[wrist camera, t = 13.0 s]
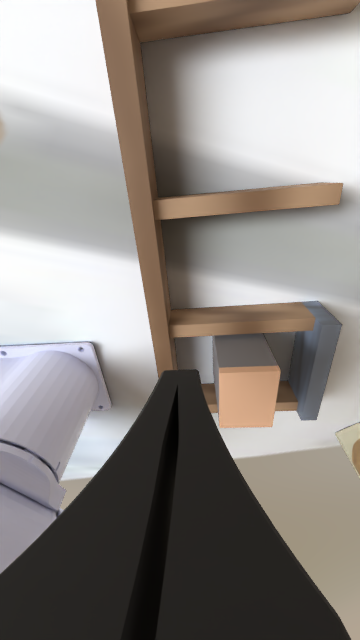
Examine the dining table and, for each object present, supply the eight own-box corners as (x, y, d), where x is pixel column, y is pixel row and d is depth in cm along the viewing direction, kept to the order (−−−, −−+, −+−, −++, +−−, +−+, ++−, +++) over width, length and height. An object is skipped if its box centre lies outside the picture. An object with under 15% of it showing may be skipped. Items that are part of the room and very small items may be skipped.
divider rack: (168, 392, 24) (164, 423, 21) (112, 16, 12) (85, -39, 9) (299, 388, 23) (316, 420, 20) (383, -24, 11) (456, -101, 8)
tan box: (213, 370, 23) (219, 427, 17) (212, 323, 20) (219, 373, 15) (253, 369, 22) (272, 426, 17) (257, 321, 20) (280, 371, 15)
